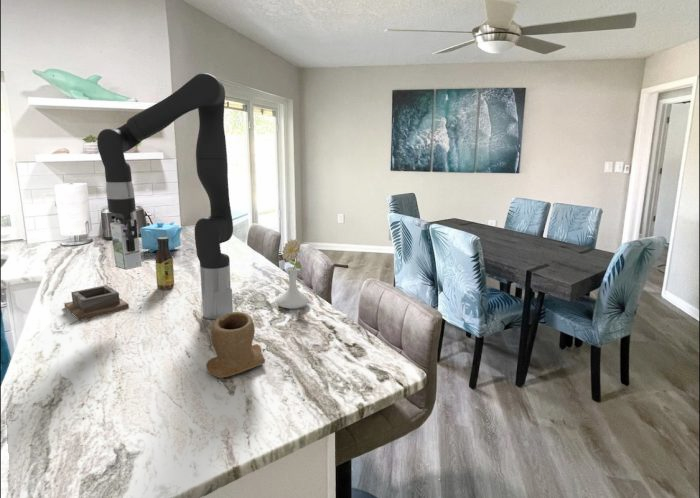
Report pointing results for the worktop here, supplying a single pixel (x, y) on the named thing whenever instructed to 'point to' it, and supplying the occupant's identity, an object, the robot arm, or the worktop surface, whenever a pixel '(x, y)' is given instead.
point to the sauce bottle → (164, 265)
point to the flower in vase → (292, 279)
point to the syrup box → (124, 248)
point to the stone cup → (233, 345)
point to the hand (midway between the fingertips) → (126, 249)
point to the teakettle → (160, 235)
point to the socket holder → (95, 302)
